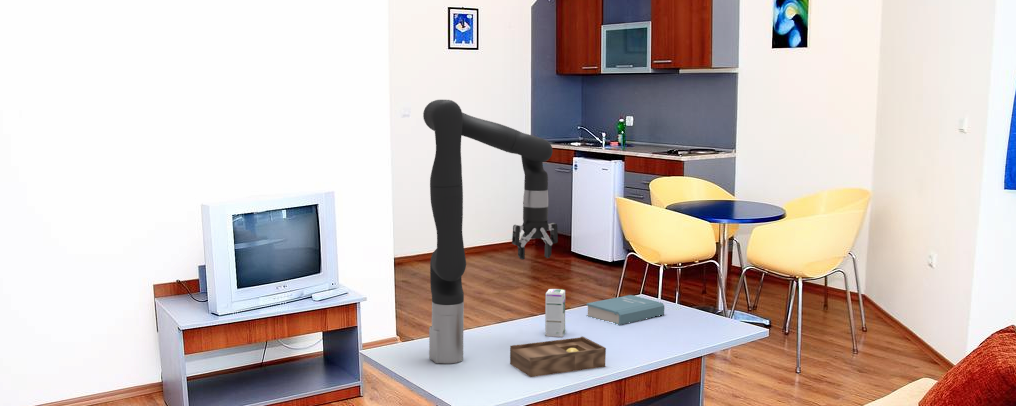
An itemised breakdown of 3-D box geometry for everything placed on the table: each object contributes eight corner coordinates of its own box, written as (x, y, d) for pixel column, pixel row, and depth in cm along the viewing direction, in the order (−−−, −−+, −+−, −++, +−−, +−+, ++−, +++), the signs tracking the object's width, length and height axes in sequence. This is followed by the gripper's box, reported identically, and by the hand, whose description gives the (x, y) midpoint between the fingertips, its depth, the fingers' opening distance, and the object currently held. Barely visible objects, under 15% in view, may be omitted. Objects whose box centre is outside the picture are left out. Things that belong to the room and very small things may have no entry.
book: (630, 308, 328) (630, 294, 327) (664, 317, 316) (664, 303, 315) (586, 317, 314) (586, 303, 313) (619, 327, 301) (620, 312, 301)
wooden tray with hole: (530, 377, 245) (530, 357, 244) (510, 363, 257) (510, 345, 256) (605, 366, 255) (605, 347, 255) (582, 354, 267) (582, 336, 266)
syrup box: (562, 337, 286) (563, 293, 284) (544, 336, 287) (545, 292, 285) (565, 332, 291) (566, 289, 289) (547, 331, 292) (548, 288, 291)
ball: (585, 352, 257) (580, 367, 257) (577, 348, 261) (572, 363, 261) (572, 348, 255) (567, 363, 255) (564, 344, 259) (559, 359, 259)
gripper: (519, 207, 260) (518, 262, 262) (562, 205, 266) (561, 258, 268) (508, 204, 267) (508, 257, 269) (550, 202, 273) (549, 254, 275)
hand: (534, 258), depth 269 cm, fingers open, 8 cm apart
